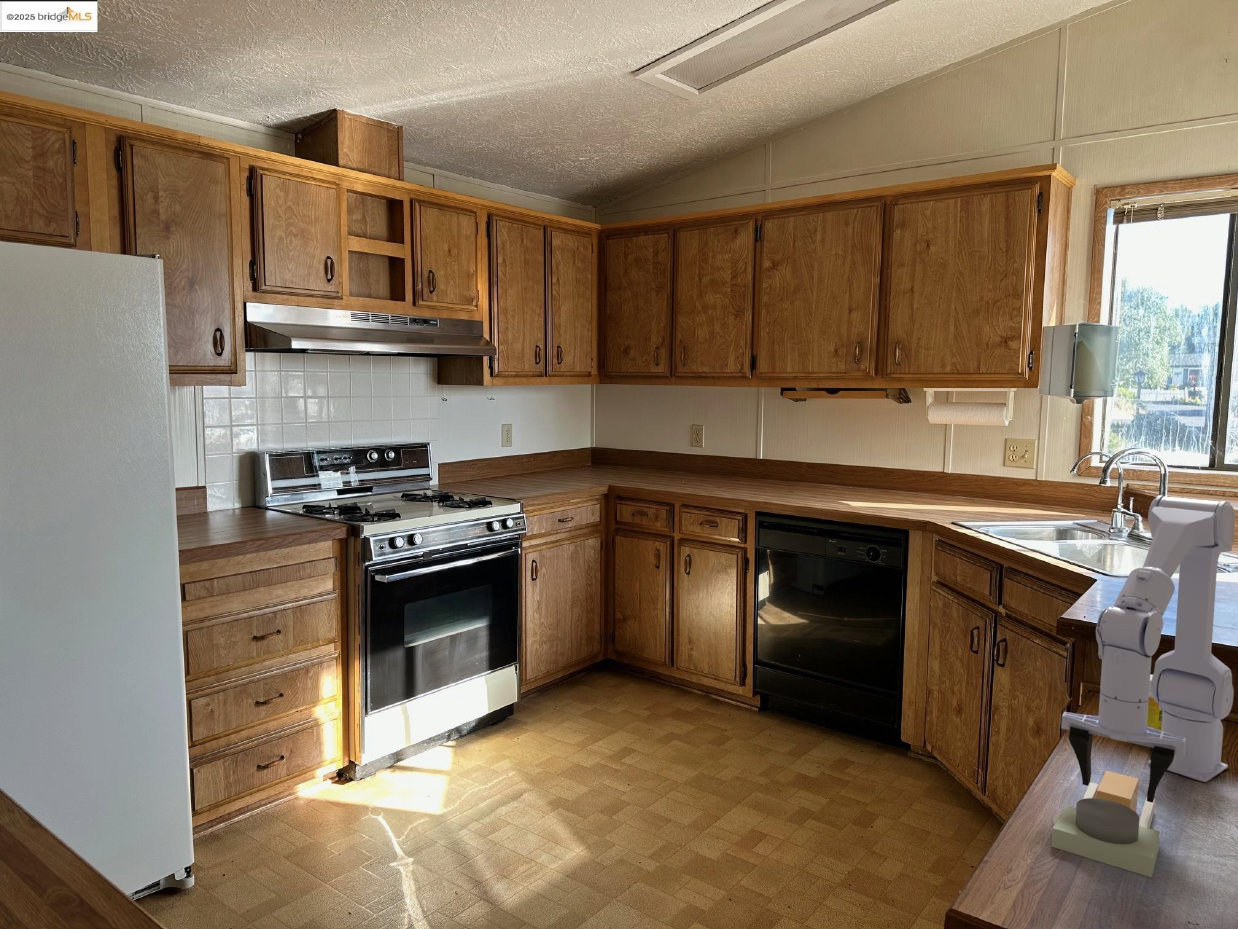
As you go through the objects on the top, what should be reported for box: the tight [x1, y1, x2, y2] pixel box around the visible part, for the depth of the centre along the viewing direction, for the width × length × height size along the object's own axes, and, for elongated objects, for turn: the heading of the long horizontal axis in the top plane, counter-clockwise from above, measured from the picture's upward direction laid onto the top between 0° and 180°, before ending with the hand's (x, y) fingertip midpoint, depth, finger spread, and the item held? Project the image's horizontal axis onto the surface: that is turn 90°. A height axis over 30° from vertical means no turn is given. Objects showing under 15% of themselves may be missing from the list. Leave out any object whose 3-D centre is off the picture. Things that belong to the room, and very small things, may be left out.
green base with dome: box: [1051, 781, 1161, 878], centre depth 112 cm, size 20×11×5 cm, turn 142°
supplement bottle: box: [1147, 674, 1163, 731], centre depth 145 cm, size 6×6×10 cm
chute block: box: [1096, 770, 1140, 813], centre depth 116 cm, size 8×4×5 cm, turn 142°
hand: (1117, 791), depth 115 cm, fingers open, 7 cm apart
